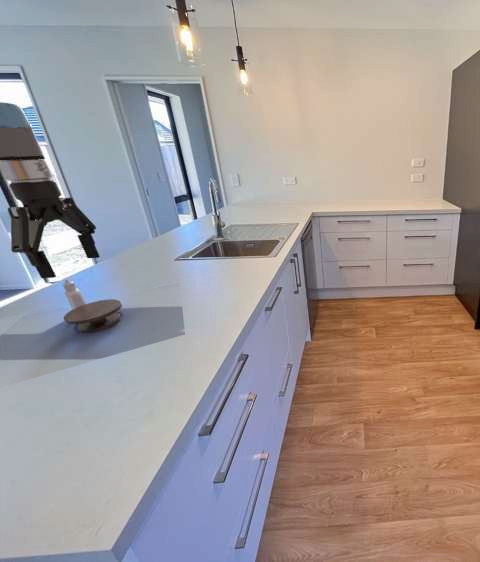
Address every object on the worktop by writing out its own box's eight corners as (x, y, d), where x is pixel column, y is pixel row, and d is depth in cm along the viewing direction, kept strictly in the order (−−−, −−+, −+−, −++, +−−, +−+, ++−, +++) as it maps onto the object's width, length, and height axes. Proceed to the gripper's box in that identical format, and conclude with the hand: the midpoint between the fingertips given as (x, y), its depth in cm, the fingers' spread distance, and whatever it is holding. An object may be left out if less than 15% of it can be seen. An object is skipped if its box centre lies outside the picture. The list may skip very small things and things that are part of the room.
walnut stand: (66, 341, 83) (57, 326, 80) (76, 321, 93) (69, 307, 90) (124, 326, 89) (118, 312, 87) (128, 308, 99) (123, 295, 97)
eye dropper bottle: (70, 318, 94) (52, 284, 89) (77, 310, 99) (60, 277, 94) (88, 315, 96) (71, 281, 91) (94, 307, 100) (78, 274, 95)
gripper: (-11, 187, 57) (43, 286, 66) (92, 175, 80) (122, 250, 89) (-53, 188, 57) (7, 288, 66) (62, 175, 79) (95, 251, 88)
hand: (73, 266), depth 77 cm, fingers open, 13 cm apart
